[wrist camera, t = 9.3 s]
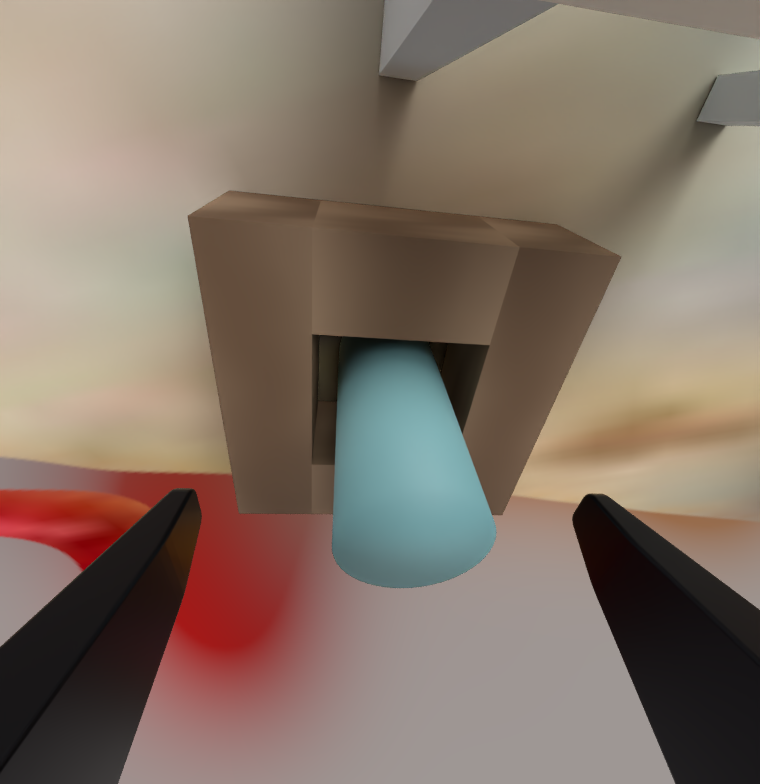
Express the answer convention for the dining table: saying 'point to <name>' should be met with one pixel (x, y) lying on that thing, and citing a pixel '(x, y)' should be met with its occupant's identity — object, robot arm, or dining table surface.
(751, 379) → the dining table surface
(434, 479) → the peg
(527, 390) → the socket
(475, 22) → the small white footstool
